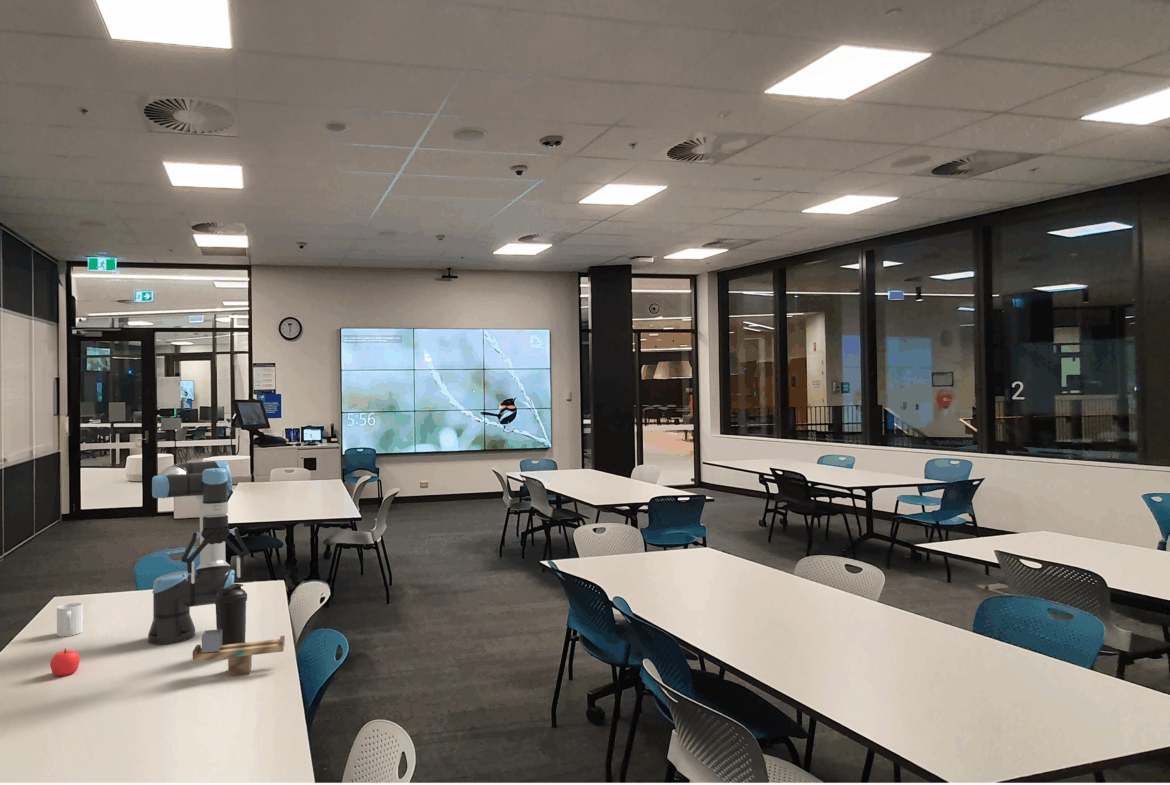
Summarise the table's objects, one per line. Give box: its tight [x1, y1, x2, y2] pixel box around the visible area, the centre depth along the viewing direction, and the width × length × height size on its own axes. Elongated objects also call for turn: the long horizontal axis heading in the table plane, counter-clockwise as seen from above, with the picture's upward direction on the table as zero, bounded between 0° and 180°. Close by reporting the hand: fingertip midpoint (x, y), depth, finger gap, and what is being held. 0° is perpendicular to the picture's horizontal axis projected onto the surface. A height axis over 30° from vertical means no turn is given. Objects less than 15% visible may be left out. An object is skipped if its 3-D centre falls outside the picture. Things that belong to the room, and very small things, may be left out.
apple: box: [50, 648, 81, 677], centre depth 237 cm, size 8×8×8 cm
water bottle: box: [214, 583, 248, 645], centre depth 254 cm, size 10×10×23 cm
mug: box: [56, 602, 84, 638], centre depth 276 cm, size 12×8×10 cm, turn 32°
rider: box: [201, 628, 222, 653], centre depth 234 cm, size 5×6×7 cm
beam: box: [192, 635, 286, 678], centre depth 237 cm, size 26×7×9 cm, turn 109°
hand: (216, 579), depth 245 cm, fingers open, 13 cm apart
